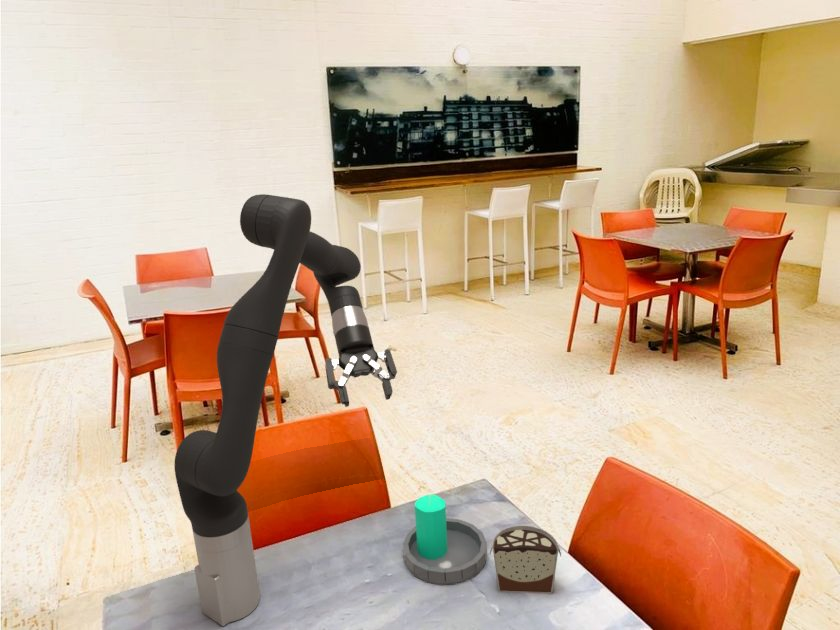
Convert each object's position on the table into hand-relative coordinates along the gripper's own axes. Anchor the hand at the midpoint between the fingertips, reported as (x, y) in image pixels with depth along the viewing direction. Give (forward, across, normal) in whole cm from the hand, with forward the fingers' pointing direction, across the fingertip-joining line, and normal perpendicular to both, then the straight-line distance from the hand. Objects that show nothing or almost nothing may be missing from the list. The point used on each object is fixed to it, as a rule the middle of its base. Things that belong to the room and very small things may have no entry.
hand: (368, 401), depth 120 cm
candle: (+29, +8, +10) cm, 32 cm away
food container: (+39, +21, +1) cm, 45 cm away
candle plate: (+31, +10, +9) cm, 34 cm away
